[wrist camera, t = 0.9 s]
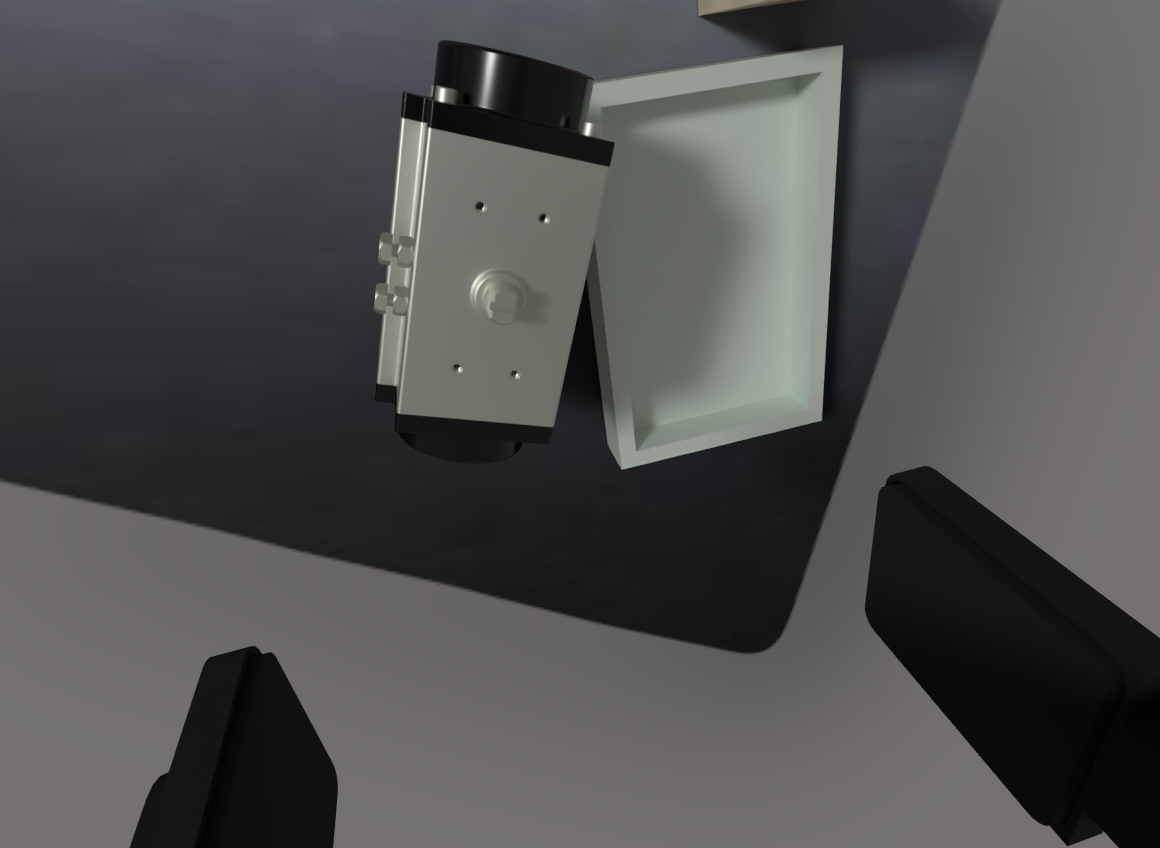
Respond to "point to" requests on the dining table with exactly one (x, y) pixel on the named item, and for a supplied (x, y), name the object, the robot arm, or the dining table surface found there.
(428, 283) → the pneumatic valve
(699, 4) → the bore block
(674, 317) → the tray
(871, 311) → the dining table surface
